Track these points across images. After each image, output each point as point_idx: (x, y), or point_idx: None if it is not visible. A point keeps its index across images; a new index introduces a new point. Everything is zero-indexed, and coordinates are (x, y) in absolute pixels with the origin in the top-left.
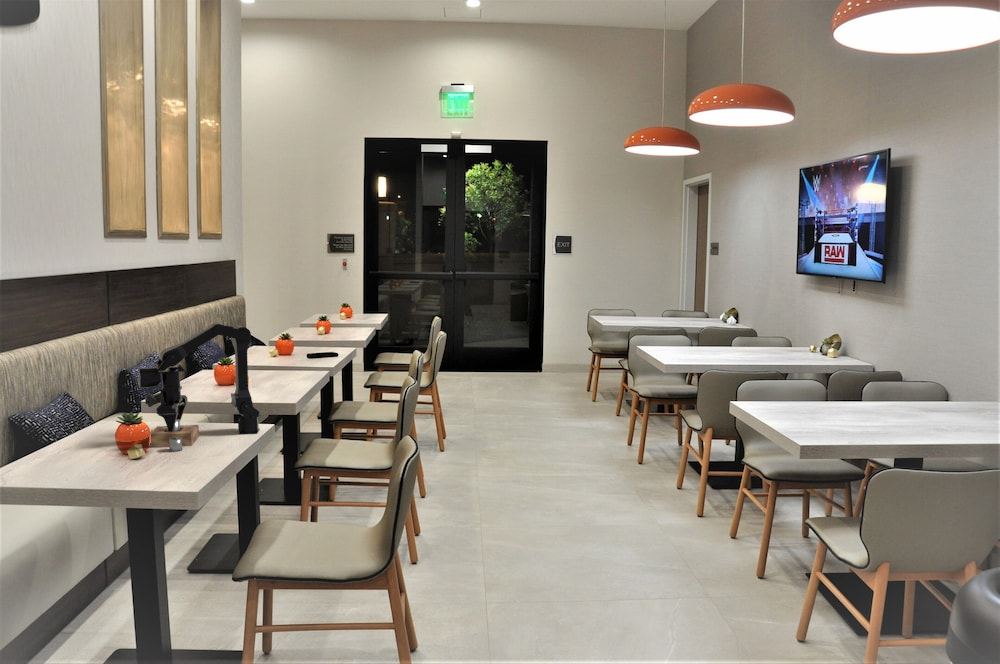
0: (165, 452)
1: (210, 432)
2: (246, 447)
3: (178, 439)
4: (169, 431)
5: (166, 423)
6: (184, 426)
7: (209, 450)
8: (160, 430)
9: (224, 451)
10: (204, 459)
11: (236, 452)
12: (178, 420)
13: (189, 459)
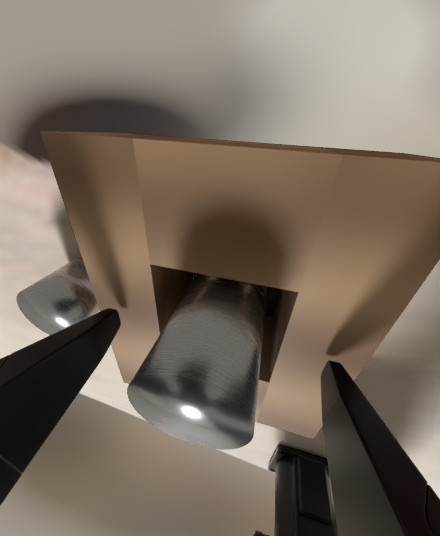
0: (68, 240)
1: (387, 408)
2: (139, 416)
3: (42, 326)
4: (108, 311)
5: (12, 357)
6: (300, 388)
7: (109, 360)
8: (216, 236)
9: (103, 382)
10: (30, 340)
11: (97, 395)
12: (168, 432)
13: (17, 311)
